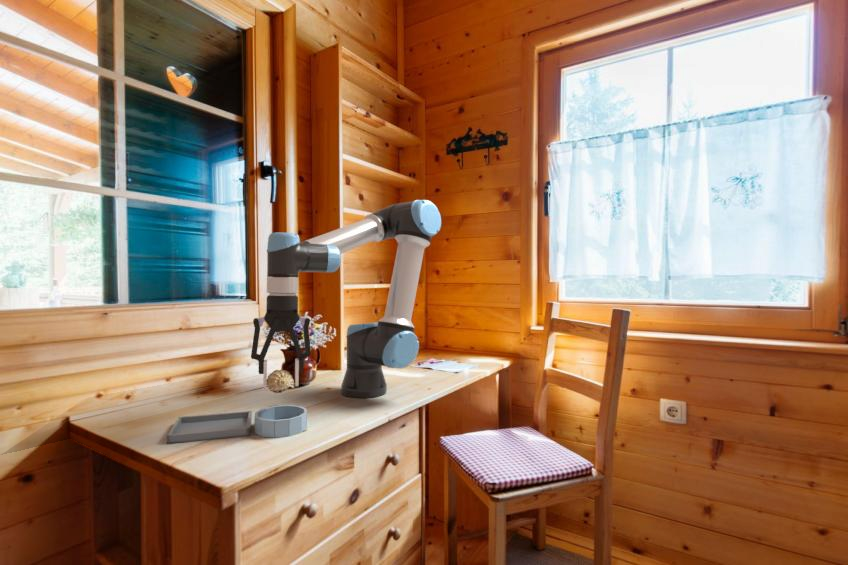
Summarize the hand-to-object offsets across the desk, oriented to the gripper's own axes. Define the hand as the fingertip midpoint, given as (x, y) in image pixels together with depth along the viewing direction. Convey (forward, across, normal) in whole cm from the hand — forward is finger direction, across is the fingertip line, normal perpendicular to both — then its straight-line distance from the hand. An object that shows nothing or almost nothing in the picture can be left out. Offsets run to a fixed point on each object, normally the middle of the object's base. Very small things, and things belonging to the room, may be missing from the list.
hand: (280, 385), depth 109 cm
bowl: (+11, 0, 0) cm, 11 cm away
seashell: (+1, 0, 0) cm, 1 cm away
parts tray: (+11, +16, -4) cm, 20 cm away
